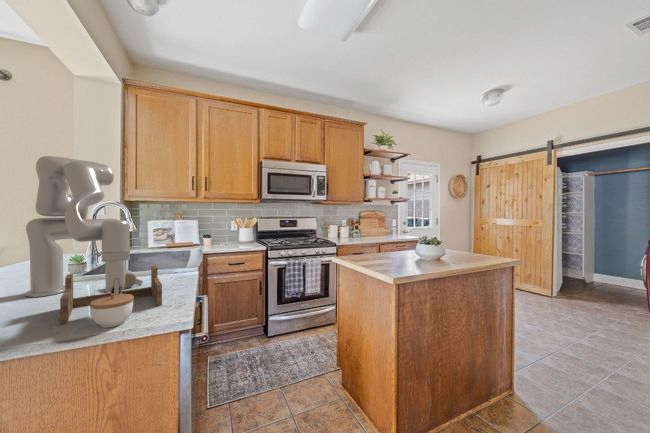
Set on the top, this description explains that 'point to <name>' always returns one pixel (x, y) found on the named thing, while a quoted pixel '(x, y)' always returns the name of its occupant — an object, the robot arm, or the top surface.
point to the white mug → (131, 279)
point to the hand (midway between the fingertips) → (116, 308)
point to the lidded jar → (111, 309)
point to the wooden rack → (69, 302)
